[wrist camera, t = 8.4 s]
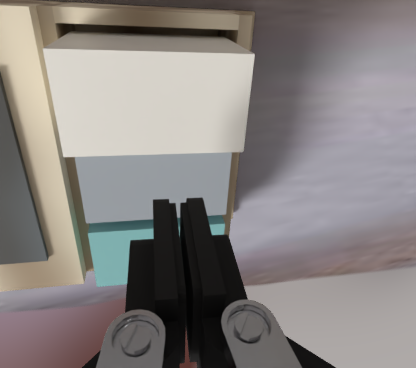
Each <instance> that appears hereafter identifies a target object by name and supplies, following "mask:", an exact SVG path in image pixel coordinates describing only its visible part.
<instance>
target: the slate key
mask: <svg viewBox="0 0 416 368" xmlns="http://www.w3.org/2000/svg"><path fill="white" fill-rule="evenodd" d="M231 157H232V152H226V153H192V154H157V155H123V156H89V157H75V162H76V168H77V174H78V179H79V185H80V191H81V197H82V203H83V208H84V214H85V220H86V223H102V222H118V221H133V220H149V219H153V199H169V203H176V210H177V218H180V203H183V202H186V199H187V198H201V197H202V198H203V200H204V204H205V208H206V212H207V216H211V215H226V209H227V198H228V188H229V178H230V167H231Z"/></svg>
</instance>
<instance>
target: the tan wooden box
mask: <svg viewBox="0 0 416 368" xmlns="http://www.w3.org/2000/svg"><path fill="white" fill-rule="evenodd" d="M254 19H255V12H254V11H238V10H218V9H198V8H179V7H159V6H139V5H119V4H100V3H80V2H60V1H40V0H0V291H11V290H22V289H32V288H43V287H53V286H64V285H74V284H84V282H85V276H86V271H94V266H93V260H92V255H91V249H90V243H89V237H88V230H89V225H90V223H86V220H85V214H84V208H83V203H82V197H81V191H80V185H79V179H78V174H77V168H76V162H75V157H63V152H62V147H61V142H60V137H59V132H58V126H57V121H56V116H55V111H54V106H53V100H52V95H51V90H50V85H49V80H48V74H47V69H46V64H45V59H44V54H43V48H44V47H46V46H48V45H49V44H51V43H52V42H54V41H56V40H57V39H59V38H61V37H62V36H64V35H66V34H67V33H69V32H71V31H77V32H105V33H133V34H161V35H189V36H217V37H225V38H227V39H229V40H231V41H233V42H234V43H236V44H238V45H240V46H241V47H243V48H245V49H247V50H249V51H250V52H251V46H252V37H253V28H254ZM239 155H240V152H232V157H231V167H230V178H229V188H228V198H227V209H226V215H222V217H223V219H224V222H225V229H224V234H227V235H228V237H229V231H230V221H231V219H232V218H233V209H234V200H235V191H236V182H237V173H238V164H239Z"/></svg>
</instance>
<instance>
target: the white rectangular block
mask: <svg viewBox="0 0 416 368" xmlns="http://www.w3.org/2000/svg"><path fill="white" fill-rule="evenodd" d="M43 54H44V59H45V64H46V69H47V74H48V80H49V85H50V90H51V95H52V100H53V106H54V111H55V116H56V121H57V126H58V132H59V137H60V142H61V147H62V152H63V157H89V156H123V155H157V154H192V153H226V152H244V143H245V135H246V126H247V117H248V109H249V100H250V92H251V83H252V75H253V66H254V57H255V54H254V53H252V52H250V51H249V50H247V49H245V48H243V47H241V46H240V45H238V44H236V43H234V42H233V41H231V40H229V39H227V38H225V37H217V36H189V35H161V34H133V33H105V32H77V31H71V32H69V33H67V34H66V35H64V36H62V37H61V38H59V39H57V40H56V41H54V42H52V43H51V44H49V45H48V46H46V47H44V48H43Z"/></svg>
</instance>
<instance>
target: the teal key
mask: <svg viewBox="0 0 416 368" xmlns="http://www.w3.org/2000/svg"><path fill="white" fill-rule="evenodd" d="M207 217H208V221H209V225H210V229H211V233H212V235H224V229H225V222H224V219H223V217H222V215H211V216H207ZM177 219H178V227H179V236H180V218H177ZM88 237H89V243H90V249H91V255H92V260H93V266H94V272H95V278H96V284H97V287H101V286H111V285H122V284H127V278H128V264H129V249H130V240H141V239H154V235H153V219H149V220H133V221H118V222H102V223H90V225H89V230H88Z"/></svg>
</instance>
